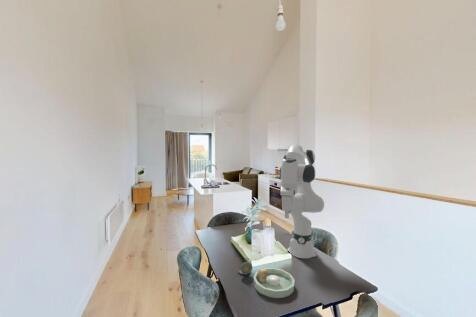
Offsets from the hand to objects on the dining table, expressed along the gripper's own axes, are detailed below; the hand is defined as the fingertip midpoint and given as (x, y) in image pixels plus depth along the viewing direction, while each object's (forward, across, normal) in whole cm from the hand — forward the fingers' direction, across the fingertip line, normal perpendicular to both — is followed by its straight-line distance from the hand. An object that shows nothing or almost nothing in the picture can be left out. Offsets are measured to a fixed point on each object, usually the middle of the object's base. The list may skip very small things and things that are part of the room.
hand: (288, 215), depth 121 cm
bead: (+33, +9, -11) cm, 36 cm away
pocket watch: (+34, +4, -22) cm, 41 cm away
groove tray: (+34, +9, -5) cm, 36 cm away
